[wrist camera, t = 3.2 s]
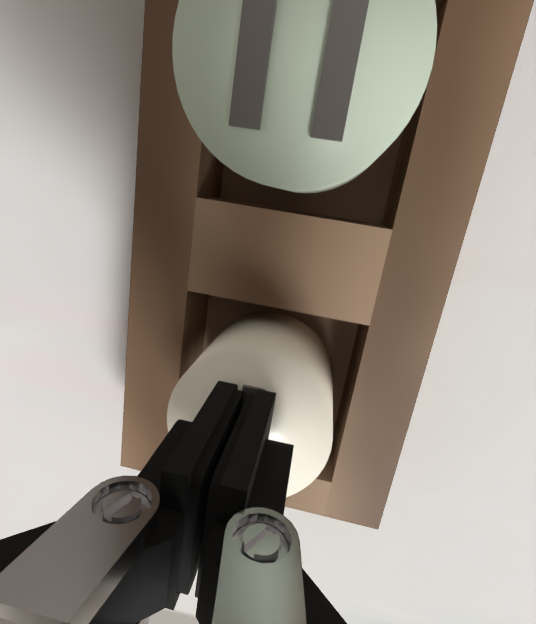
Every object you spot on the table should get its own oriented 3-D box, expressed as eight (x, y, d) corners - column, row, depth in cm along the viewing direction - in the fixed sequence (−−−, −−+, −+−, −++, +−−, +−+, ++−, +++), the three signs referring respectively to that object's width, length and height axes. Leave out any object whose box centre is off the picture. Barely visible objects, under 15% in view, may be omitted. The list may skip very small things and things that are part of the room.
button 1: (344, 326, 14) (349, 373, 10) (319, 440, 15) (314, 521, 12) (215, 300, 15) (172, 336, 11) (201, 413, 16) (159, 482, 12)
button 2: (420, 12, 10) (475, -109, 6) (376, 205, 11) (399, 206, 8) (237, -7, 11) (181, -131, 7) (217, 180, 12) (160, 169, 8)
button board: (626, -461, 9) (754, -748, 7) (370, 474, 17) (378, 529, 14) (223, -452, 10) (181, -696, 8) (153, 424, 18) (120, 465, 15)
